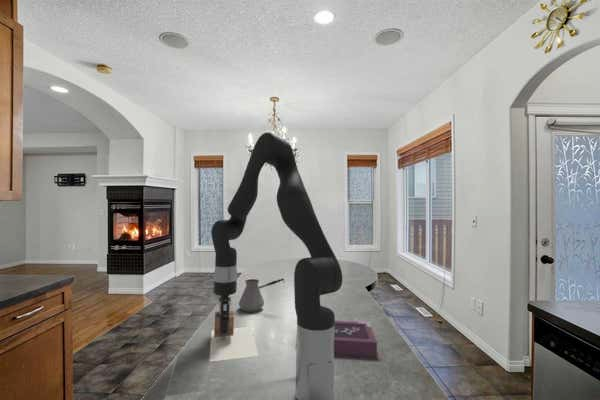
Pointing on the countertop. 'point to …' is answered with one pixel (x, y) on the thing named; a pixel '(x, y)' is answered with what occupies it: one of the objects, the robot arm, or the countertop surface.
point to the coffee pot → (253, 296)
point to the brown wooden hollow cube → (218, 325)
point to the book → (354, 339)
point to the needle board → (233, 345)
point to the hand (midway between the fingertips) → (223, 329)
